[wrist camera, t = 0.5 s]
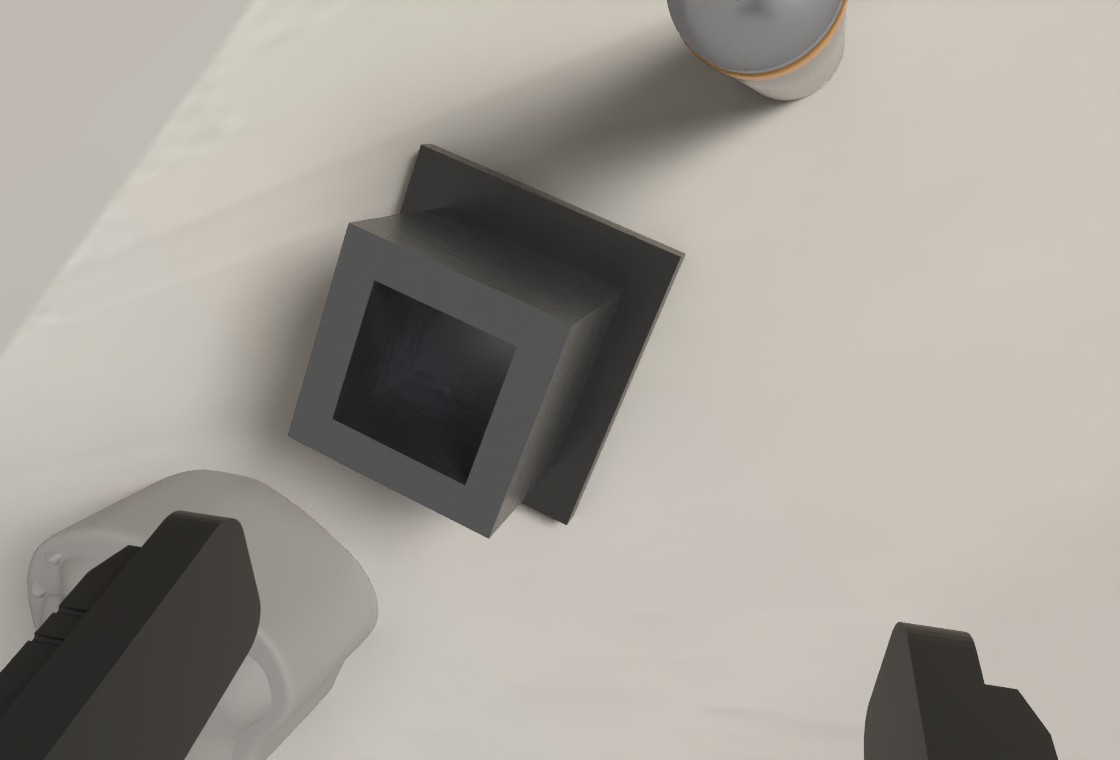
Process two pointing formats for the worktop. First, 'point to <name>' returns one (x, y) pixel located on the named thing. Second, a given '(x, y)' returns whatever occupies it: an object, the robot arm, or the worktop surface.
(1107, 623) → the worktop surface
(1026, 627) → the worktop surface
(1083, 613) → the worktop surface
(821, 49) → the silver copper-banded cylinder
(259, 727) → the lumpy-topped squat cylinder
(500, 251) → the dark grey open bin
